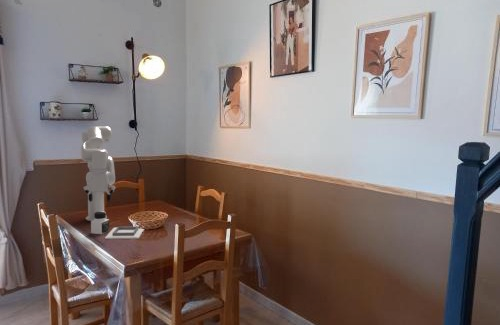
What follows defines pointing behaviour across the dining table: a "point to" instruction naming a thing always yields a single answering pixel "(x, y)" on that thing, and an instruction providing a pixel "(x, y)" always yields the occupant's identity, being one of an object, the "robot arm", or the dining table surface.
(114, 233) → the holder board
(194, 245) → the dining table surface
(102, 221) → the medicine bottle
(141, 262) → the dining table surface
